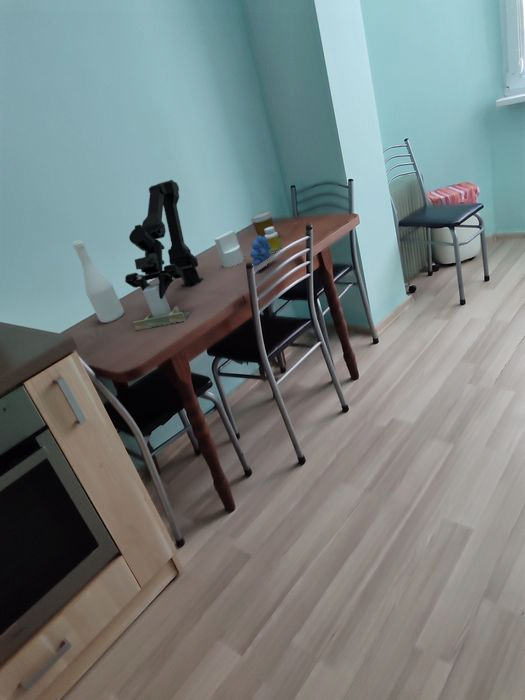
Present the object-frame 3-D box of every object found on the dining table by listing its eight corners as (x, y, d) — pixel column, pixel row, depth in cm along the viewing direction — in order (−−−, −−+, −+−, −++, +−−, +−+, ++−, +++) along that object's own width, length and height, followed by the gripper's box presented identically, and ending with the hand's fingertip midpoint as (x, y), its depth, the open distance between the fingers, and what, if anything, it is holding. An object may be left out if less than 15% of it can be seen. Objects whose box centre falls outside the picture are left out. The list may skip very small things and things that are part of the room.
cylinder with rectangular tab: (231, 268, 193) (222, 239, 188) (218, 266, 200) (209, 239, 194) (248, 259, 198) (239, 230, 192) (235, 258, 204) (226, 230, 199)
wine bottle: (99, 319, 184) (62, 244, 171) (122, 309, 187) (88, 234, 173) (101, 326, 176) (63, 248, 163) (126, 315, 179) (91, 238, 165)
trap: (144, 321, 168) (140, 313, 167) (191, 311, 163) (188, 303, 162) (136, 330, 163) (132, 322, 161) (184, 321, 158) (181, 313, 156)
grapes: (264, 261, 189) (256, 232, 183) (278, 260, 185) (270, 230, 179) (247, 274, 181) (238, 243, 176) (261, 273, 177) (252, 242, 172)
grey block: (160, 315, 166) (147, 285, 161) (171, 312, 165) (159, 283, 160) (155, 321, 162) (142, 291, 157) (167, 318, 161) (155, 288, 156)
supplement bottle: (280, 252, 193) (274, 228, 189) (268, 255, 195) (261, 231, 191) (282, 247, 198) (276, 224, 194) (270, 250, 200) (263, 227, 195)
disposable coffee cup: (282, 236, 213) (275, 209, 207) (271, 244, 206) (264, 217, 201) (264, 238, 218) (257, 212, 213) (253, 246, 212) (245, 219, 206)
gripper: (115, 252, 159) (115, 296, 154) (166, 239, 153) (167, 285, 149) (134, 266, 169) (134, 308, 164) (182, 254, 164) (184, 297, 159)
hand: (154, 299), depth 159 cm, fingers closed on grey block, 4 cm apart
